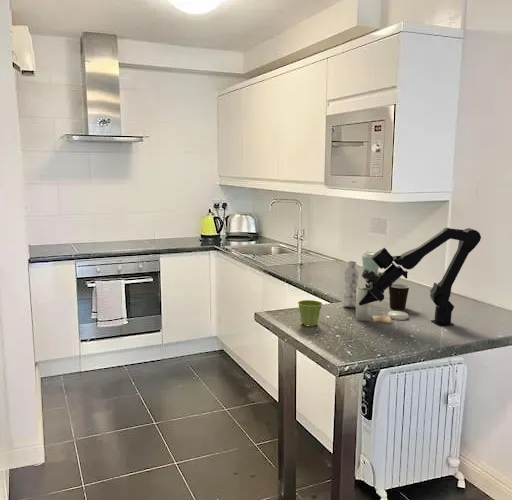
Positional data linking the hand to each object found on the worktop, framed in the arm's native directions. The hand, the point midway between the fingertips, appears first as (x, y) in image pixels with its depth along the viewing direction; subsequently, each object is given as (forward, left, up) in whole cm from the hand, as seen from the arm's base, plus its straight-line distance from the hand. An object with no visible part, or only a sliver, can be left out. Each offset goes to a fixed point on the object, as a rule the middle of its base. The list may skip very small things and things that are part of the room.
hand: (358, 302), depth 208 cm
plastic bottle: (+18, -4, -7) cm, 19 cm away
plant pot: (-4, +22, -7) cm, 24 cm away
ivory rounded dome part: (0, -17, -7) cm, 19 cm away
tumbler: (0, -1, -7) cm, 7 cm away
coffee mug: (+12, -23, -7) cm, 26 cm away
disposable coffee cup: (+72, -39, -7) cm, 82 cm away
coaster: (-3, -9, -7) cm, 11 cm away
